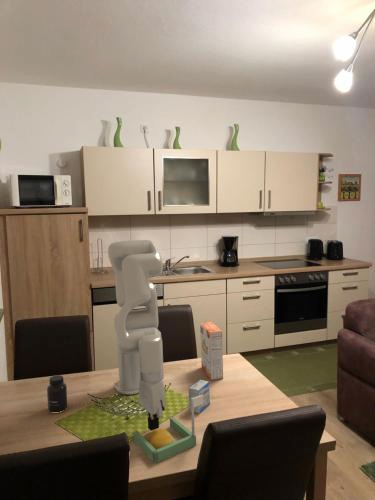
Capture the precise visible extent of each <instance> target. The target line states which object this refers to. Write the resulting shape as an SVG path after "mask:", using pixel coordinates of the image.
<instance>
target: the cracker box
mask: <svg viewBox="0 0 375 500" xmlns="http://www.w3.org/2000/svg"><path fill="white" fill-rule="evenodd" d="M199 327H200V355H201V356H200V357H201V359H200V361H201V362H200V363H201V368H202V369H203V371H204V372H205V374H206V375H207V377H208V378H209V380H210V381H215V380H221V379H222V380H223V379H224V365H223V364H224V363H223V362H224V359H223V331H222V330H221V329H220V328H219V327H218V326H217V325H216V324H215V323H213V321H207V322H206V321H205V322H199Z"/></svg>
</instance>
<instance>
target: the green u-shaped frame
mask: <svg viewBox="0 0 375 500" xmlns="http://www.w3.org/2000/svg"><path fill="white" fill-rule="evenodd" d="M201 404H203V395H200V396H198V397H195V398H193V397H192V398H191V411H190V413H191V430H190V429H188V428H187V427H186V426H185V425H184V424H183V423H181V422H180V421H179V420H178V419H176V418H175V417H174V416H172V417H169V427H170V428H172V430H174V432H176V433H177V434H178V435H179V436H180V437H182V438H181V439H179V440H176V441H174V443H171V444H169V445H167V446H164V447H162V448H160V449H157V450H156V449H155V448H154V447H153V446H152V445H151V444H150V443H149V442H148V441H147V440H146V438H145V437H144V436H143V435H142V434H141V432H139V431H138V430H135V431H133V440H134V441H133V442H135V444H136V445H137V446H138V447H139V448H140V449H141V450H142V451H143V453H145V454H146V456H147V457H148V458H149V459H150V460H151V462H153V463H154V464H157V463H160V462H162V461H164V460H167V459H168V458H170V457H173V456H175V455H177V454H179V453H182V452H185V451H186V450H188V449H191V448H193V447H194V446H197V436H196V434H195V412H194V407H196V406H199V405H201Z"/></svg>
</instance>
